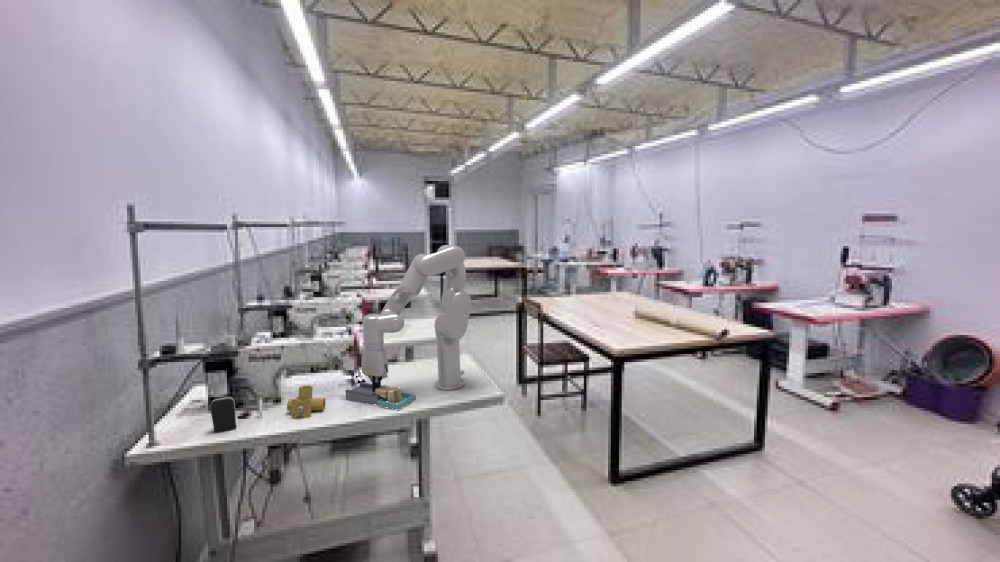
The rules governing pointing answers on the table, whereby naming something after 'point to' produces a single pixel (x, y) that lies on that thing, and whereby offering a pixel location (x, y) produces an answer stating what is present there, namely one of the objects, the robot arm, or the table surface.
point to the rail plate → (363, 394)
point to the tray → (405, 400)
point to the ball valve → (305, 403)
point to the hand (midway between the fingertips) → (376, 390)
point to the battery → (223, 414)
